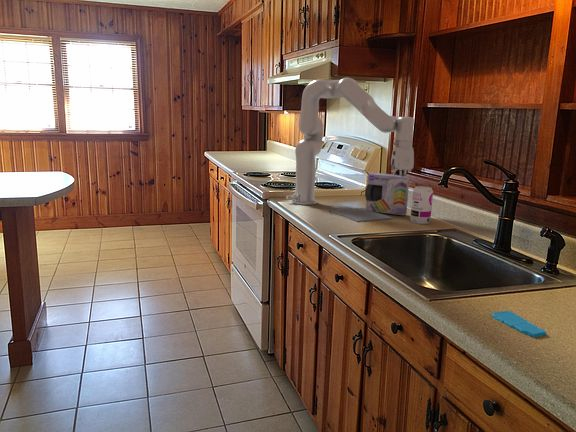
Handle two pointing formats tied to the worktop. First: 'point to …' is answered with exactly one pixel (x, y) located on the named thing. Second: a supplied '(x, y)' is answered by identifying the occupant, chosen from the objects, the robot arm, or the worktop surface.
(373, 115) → the robot arm
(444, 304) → the worktop surface
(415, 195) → the supplement can
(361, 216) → the mat
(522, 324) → the sponge
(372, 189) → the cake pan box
